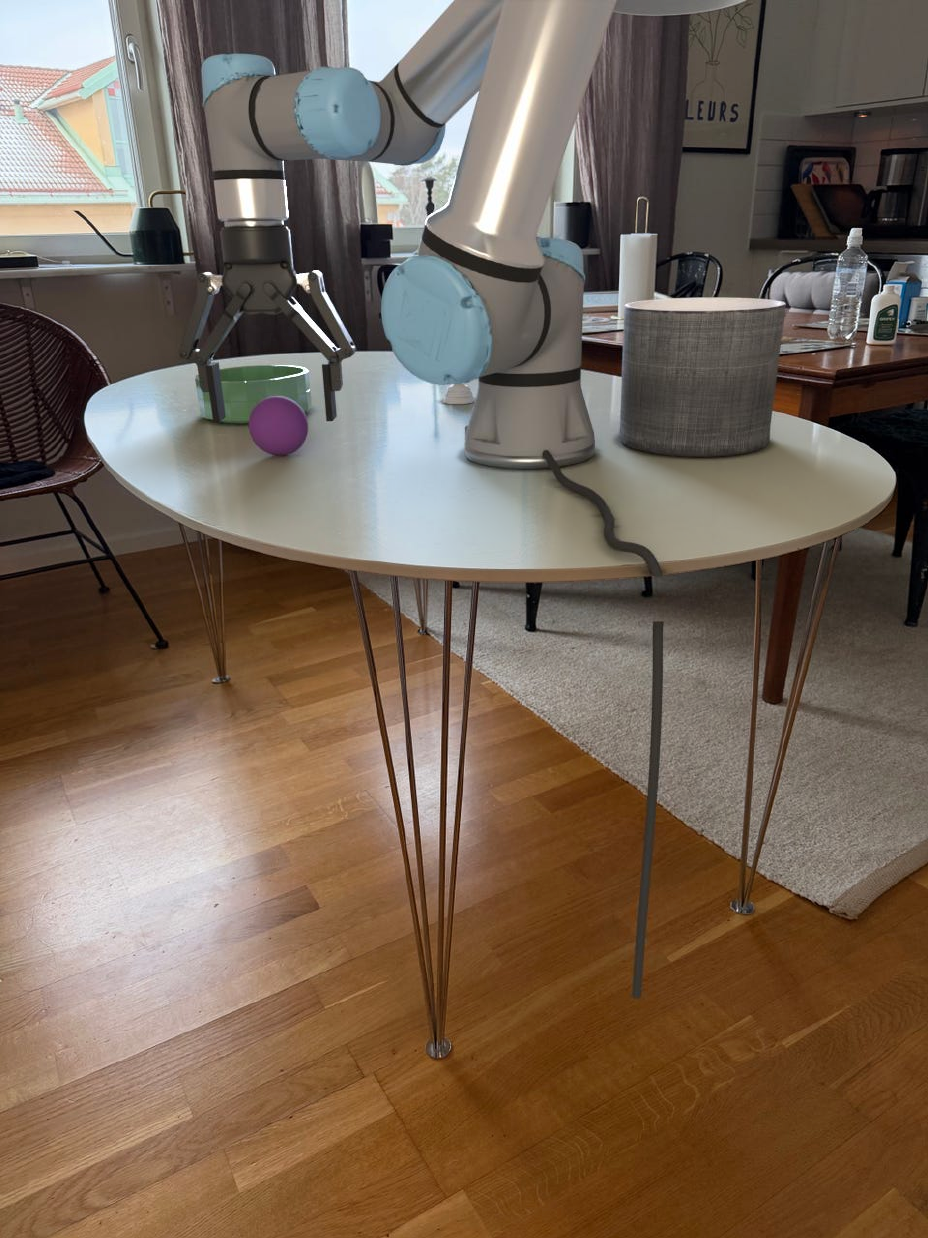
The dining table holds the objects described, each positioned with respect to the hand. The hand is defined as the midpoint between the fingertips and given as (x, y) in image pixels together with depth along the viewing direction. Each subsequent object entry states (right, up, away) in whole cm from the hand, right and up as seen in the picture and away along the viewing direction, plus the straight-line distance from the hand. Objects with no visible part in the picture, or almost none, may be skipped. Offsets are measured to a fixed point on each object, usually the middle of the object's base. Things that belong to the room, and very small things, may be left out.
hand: (275, 419), depth 103 cm
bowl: (-8, +7, +26) cm, 28 cm away
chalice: (+22, +10, +31) cm, 39 cm away
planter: (+51, -2, +2) cm, 51 cm away
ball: (0, -1, 0) cm, 1 cm away
